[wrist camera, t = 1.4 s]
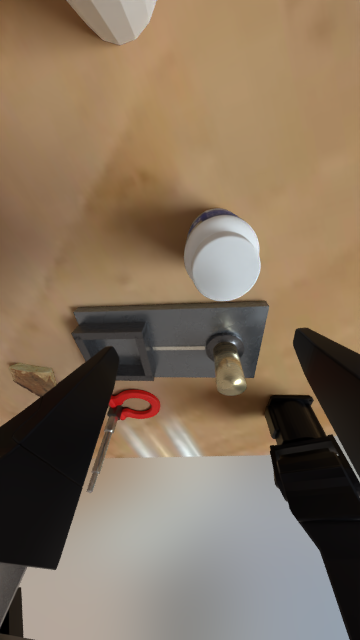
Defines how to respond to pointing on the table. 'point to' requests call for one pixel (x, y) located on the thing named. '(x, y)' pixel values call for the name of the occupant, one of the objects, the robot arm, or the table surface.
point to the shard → (33, 378)
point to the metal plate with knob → (178, 340)
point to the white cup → (115, 17)
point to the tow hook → (119, 413)
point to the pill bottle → (222, 255)
